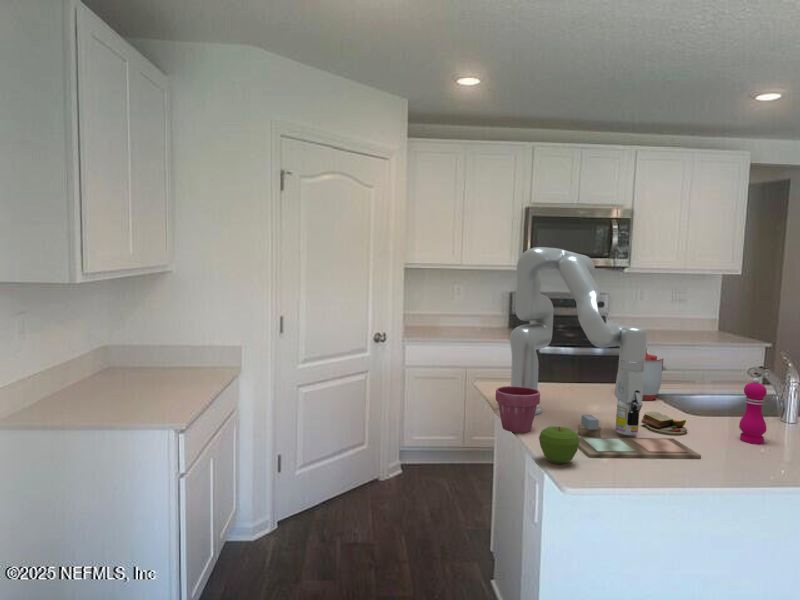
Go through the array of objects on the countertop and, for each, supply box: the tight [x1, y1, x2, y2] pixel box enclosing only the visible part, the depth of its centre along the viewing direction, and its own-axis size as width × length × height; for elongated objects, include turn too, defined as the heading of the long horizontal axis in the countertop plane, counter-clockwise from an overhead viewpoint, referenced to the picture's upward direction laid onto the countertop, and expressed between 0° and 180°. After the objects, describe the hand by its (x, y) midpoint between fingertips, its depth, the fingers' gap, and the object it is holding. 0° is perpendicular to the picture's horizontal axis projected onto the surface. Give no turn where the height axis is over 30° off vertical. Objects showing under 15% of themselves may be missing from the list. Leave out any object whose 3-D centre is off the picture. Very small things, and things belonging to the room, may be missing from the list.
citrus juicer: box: [642, 351, 667, 401], centre depth 230 cm, size 16×17×20 cm
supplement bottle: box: [615, 399, 640, 436], centre depth 178 cm, size 7×7×13 cm
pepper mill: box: [738, 377, 768, 445], centre depth 176 cm, size 7×7×20 cm
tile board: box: [578, 436, 702, 460], centre depth 166 cm, size 32×15×1 cm, turn 92°
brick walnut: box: [577, 424, 602, 438], centre depth 178 cm, size 6×3×3 cm, turn 93°
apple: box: [538, 425, 580, 465], centre depth 153 cm, size 11×10×10 cm
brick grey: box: [580, 414, 600, 429], centre depth 178 cm, size 6×3×3 cm, turn 4°
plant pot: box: [495, 385, 541, 434], centre depth 183 cm, size 14×14×13 cm
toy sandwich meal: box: [641, 411, 688, 436], centre depth 187 cm, size 12×14×5 cm
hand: (627, 421), depth 178 cm, fingers closed on supplement bottle, 6 cm apart
